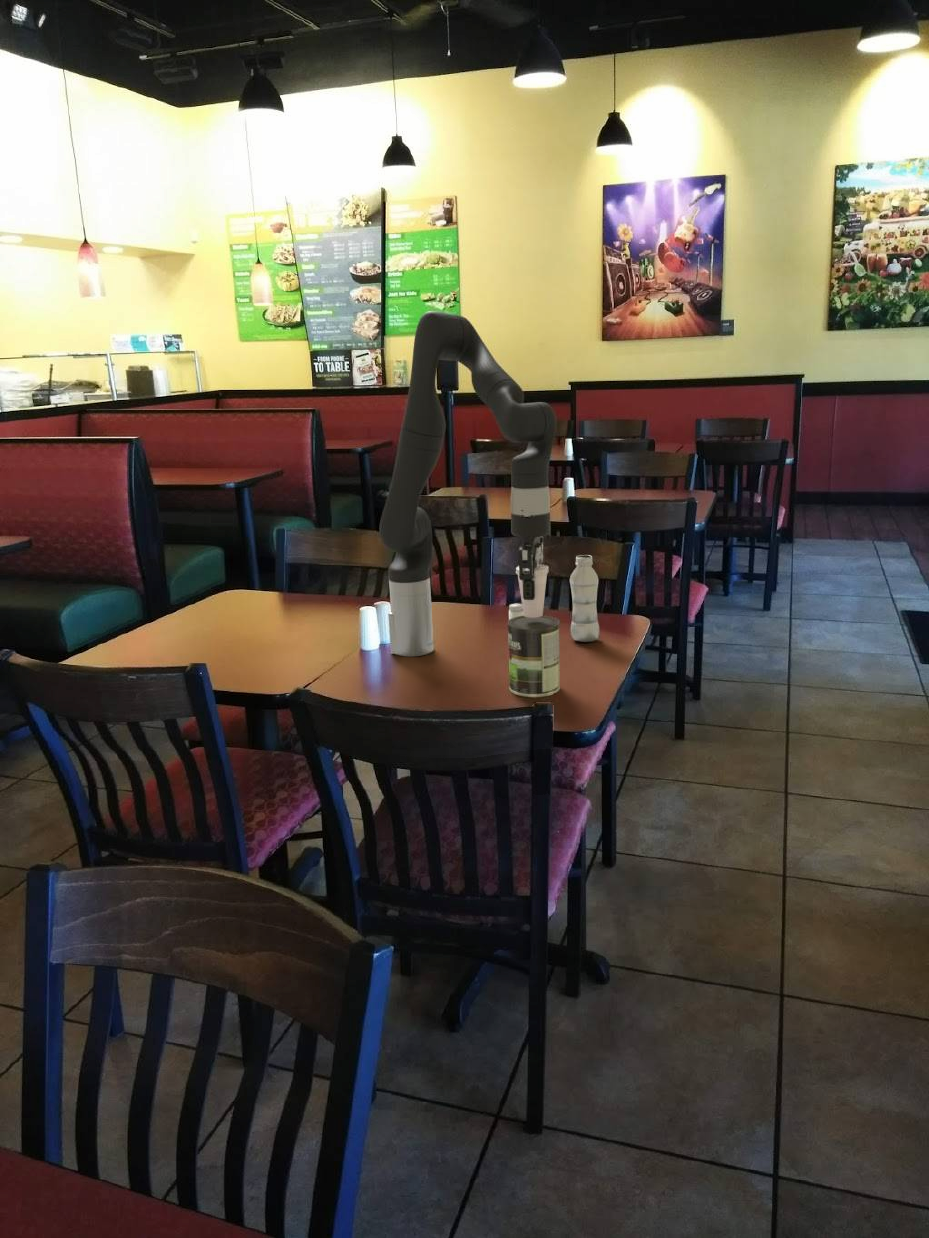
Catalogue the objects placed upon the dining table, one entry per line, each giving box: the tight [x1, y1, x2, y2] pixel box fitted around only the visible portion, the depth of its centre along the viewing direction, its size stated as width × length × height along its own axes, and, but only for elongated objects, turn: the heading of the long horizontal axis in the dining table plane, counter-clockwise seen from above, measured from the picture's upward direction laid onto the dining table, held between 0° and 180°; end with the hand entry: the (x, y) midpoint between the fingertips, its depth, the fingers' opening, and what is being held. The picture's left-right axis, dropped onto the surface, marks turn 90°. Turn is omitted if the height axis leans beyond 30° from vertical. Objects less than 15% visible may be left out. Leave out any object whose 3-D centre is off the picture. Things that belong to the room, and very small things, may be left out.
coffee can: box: [506, 614, 561, 698], centre depth 186 cm, size 10×10×14 cm
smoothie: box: [515, 564, 549, 618], centre depth 182 cm, size 6×6×14 cm
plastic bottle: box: [569, 554, 600, 643], centre depth 214 cm, size 6×7×20 cm
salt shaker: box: [508, 603, 524, 621], centre depth 220 cm, size 4×4×8 cm
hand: (532, 594), depth 183 cm, fingers closed on smoothie, 6 cm apart
